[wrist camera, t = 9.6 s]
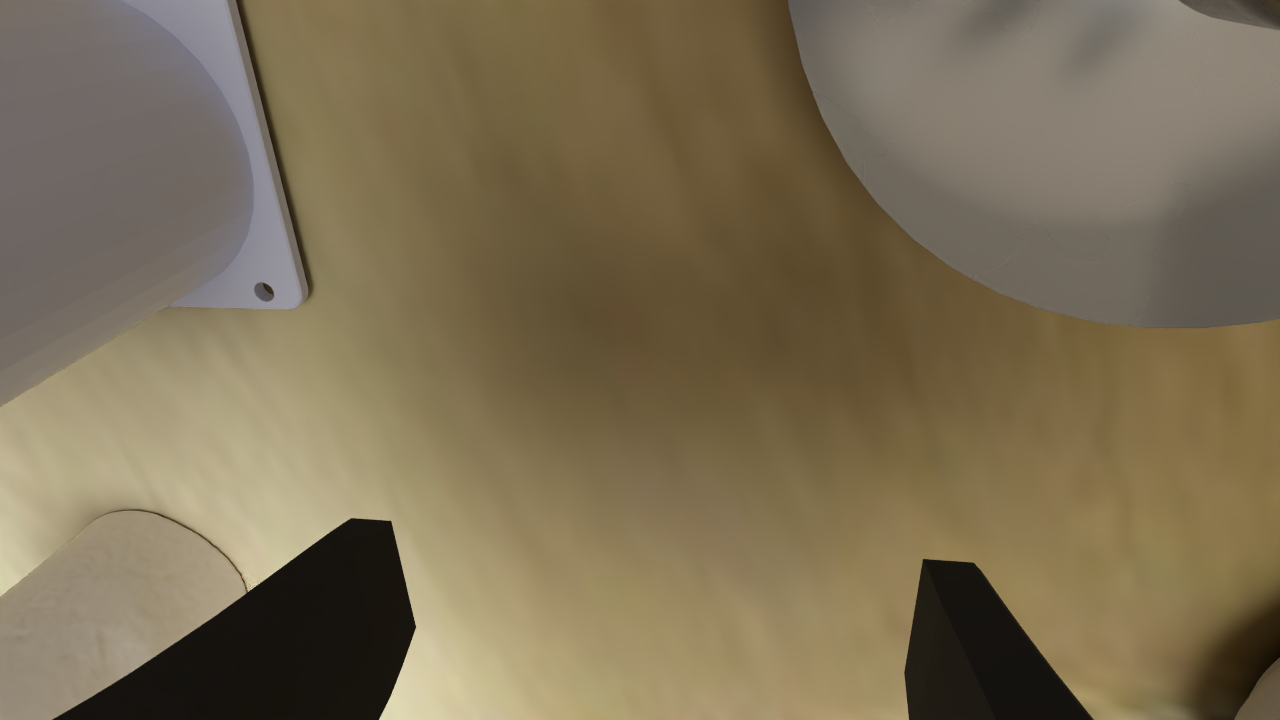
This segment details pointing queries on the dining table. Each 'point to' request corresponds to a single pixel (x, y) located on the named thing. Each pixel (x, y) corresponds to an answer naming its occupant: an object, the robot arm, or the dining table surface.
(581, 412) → the dining table surface
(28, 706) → the roll
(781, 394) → the dining table surface
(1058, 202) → the steel lid
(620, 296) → the dining table surface
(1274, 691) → the teacup
